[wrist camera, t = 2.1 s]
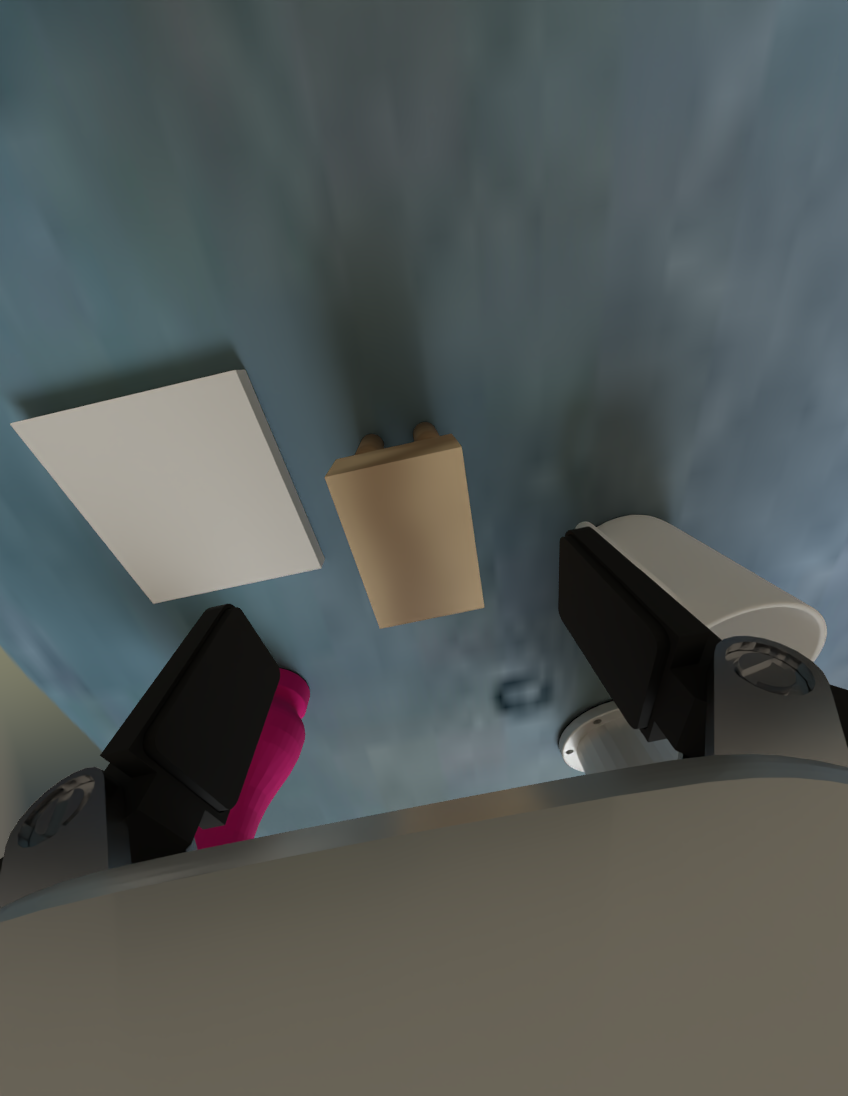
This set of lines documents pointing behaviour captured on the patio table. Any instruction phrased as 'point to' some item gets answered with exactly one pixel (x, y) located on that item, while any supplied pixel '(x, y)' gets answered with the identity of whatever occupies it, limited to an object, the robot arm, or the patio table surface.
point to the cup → (714, 585)
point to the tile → (181, 485)
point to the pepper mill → (266, 763)
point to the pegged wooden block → (409, 526)
